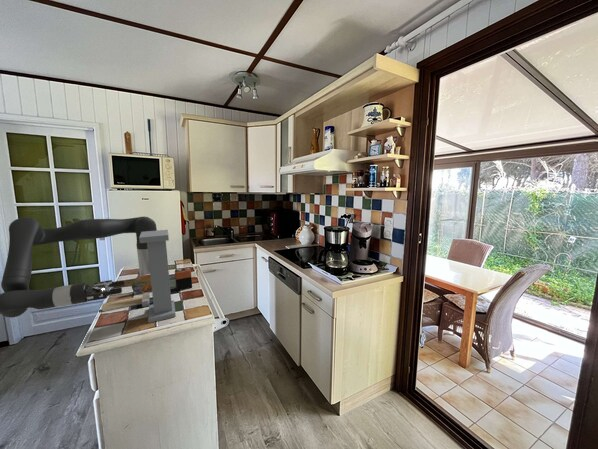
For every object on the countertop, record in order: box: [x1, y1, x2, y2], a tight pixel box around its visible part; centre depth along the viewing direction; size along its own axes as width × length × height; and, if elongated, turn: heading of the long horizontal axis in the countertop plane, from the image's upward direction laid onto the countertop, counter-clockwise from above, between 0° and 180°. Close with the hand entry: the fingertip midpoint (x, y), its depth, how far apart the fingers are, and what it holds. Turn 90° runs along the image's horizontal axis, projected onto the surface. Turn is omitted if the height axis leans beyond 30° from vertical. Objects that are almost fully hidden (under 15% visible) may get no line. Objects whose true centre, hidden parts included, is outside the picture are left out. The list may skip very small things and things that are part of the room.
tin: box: [131, 274, 152, 295], centre depth 119 cm, size 15×3×8 cm, turn 123°
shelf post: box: [139, 229, 177, 324], centre depth 97 cm, size 12×9×32 cm
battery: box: [174, 266, 193, 291], centre depth 122 cm, size 4×7×10 cm, turn 123°
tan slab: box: [101, 292, 151, 312], centre depth 105 cm, size 10×16×2 cm, turn 119°
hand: (123, 286), depth 104 cm, fingers open, 8 cm apart
